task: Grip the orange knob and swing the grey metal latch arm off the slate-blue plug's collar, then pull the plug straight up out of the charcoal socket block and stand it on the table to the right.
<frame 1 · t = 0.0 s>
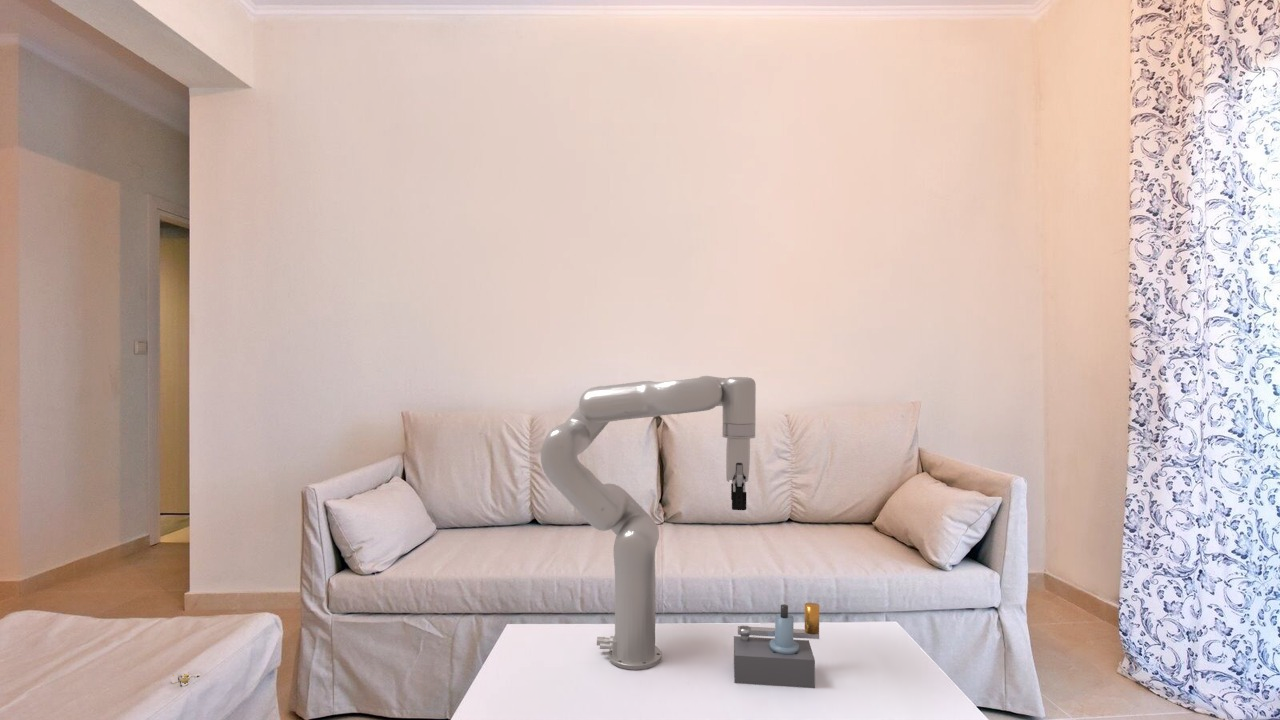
hand: (738, 504, 152), 37 cm above the table, tool pointing down, fingers open, 9 cm apart
socket block: (772, 674, 147), on the table
plug: (784, 666, 147), point 2 cm above the table, touching socket block
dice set: (183, 683, 144), on the table
latch: (778, 619, 151), point 11 cm above the table, hinge at 0.0°
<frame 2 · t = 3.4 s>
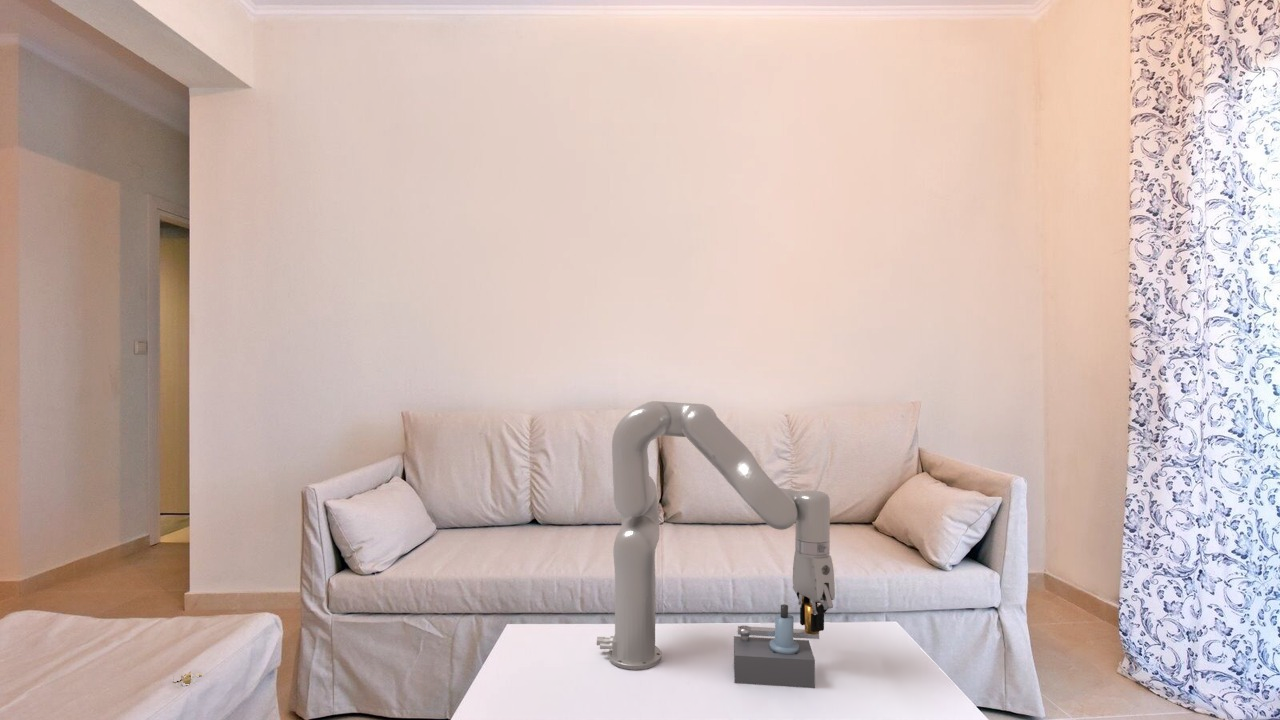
hand: (811, 626, 150), 10 cm above the table, tool pointing down, fingers closed on latch, 3 cm apart
latch: (778, 619, 151), point 11 cm above the table, hinge at 0.0°, touching gripper
everything else where it was.
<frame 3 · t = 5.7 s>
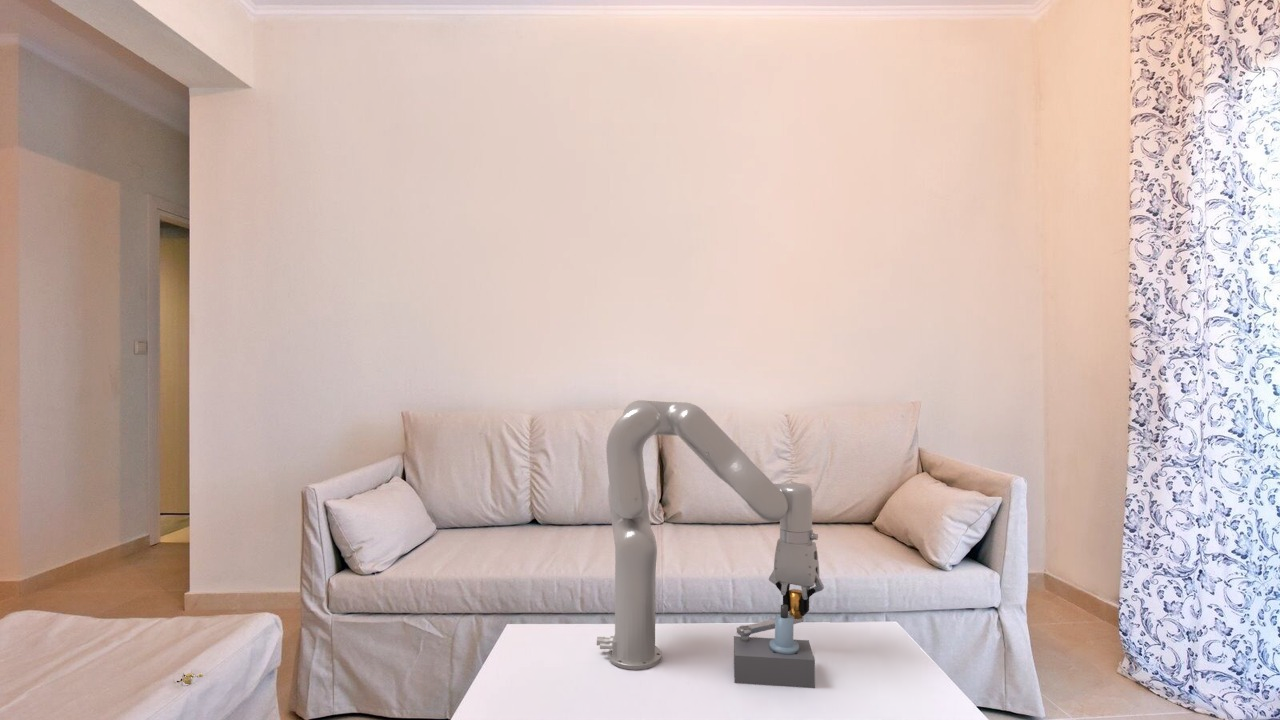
hand: (795, 611, 158), 10 cm above the table, tool pointing down, fingers closed on latch, 3 cm apart
latch: (771, 611, 155), point 11 cm above the table, hinge at 34.4°, touching gripper
everything else where it was.
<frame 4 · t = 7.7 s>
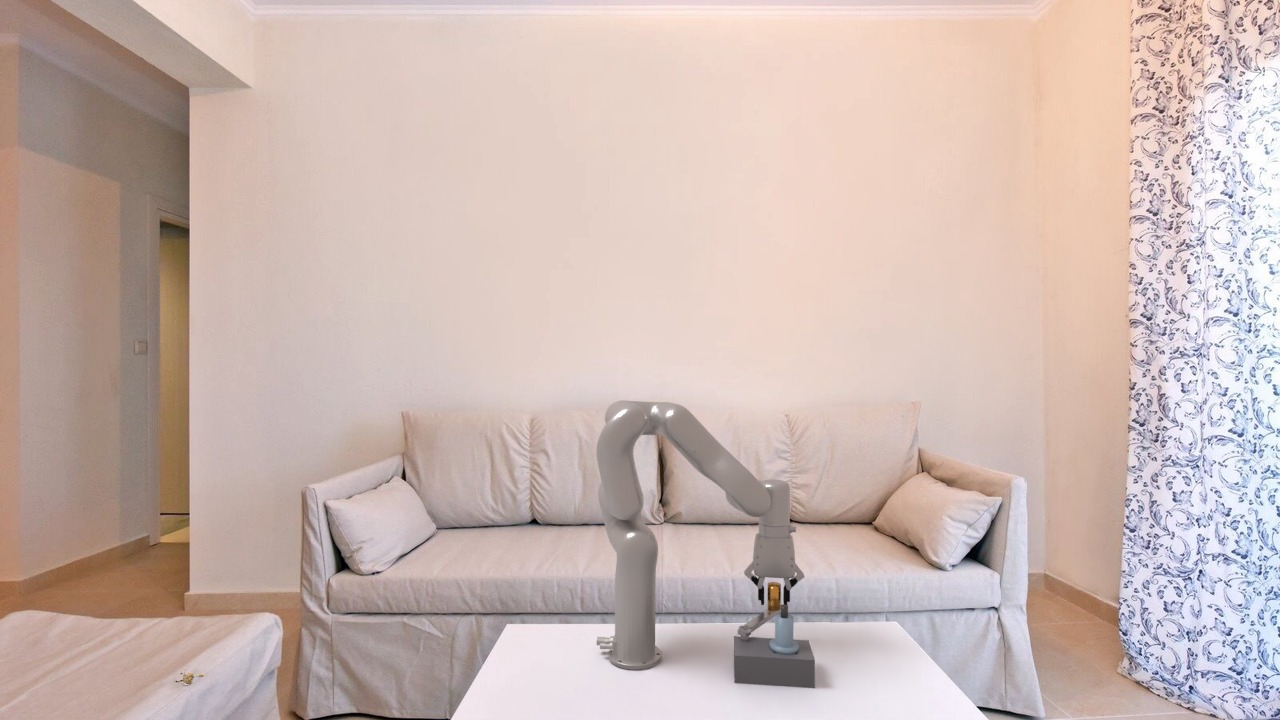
hand: (773, 603, 163), 10 cm above the table, tool pointing down, fingers open, 5 cm apart
latch: (760, 607, 157), point 11 cm above the table, hinge at 59.7°
everything else where it was.
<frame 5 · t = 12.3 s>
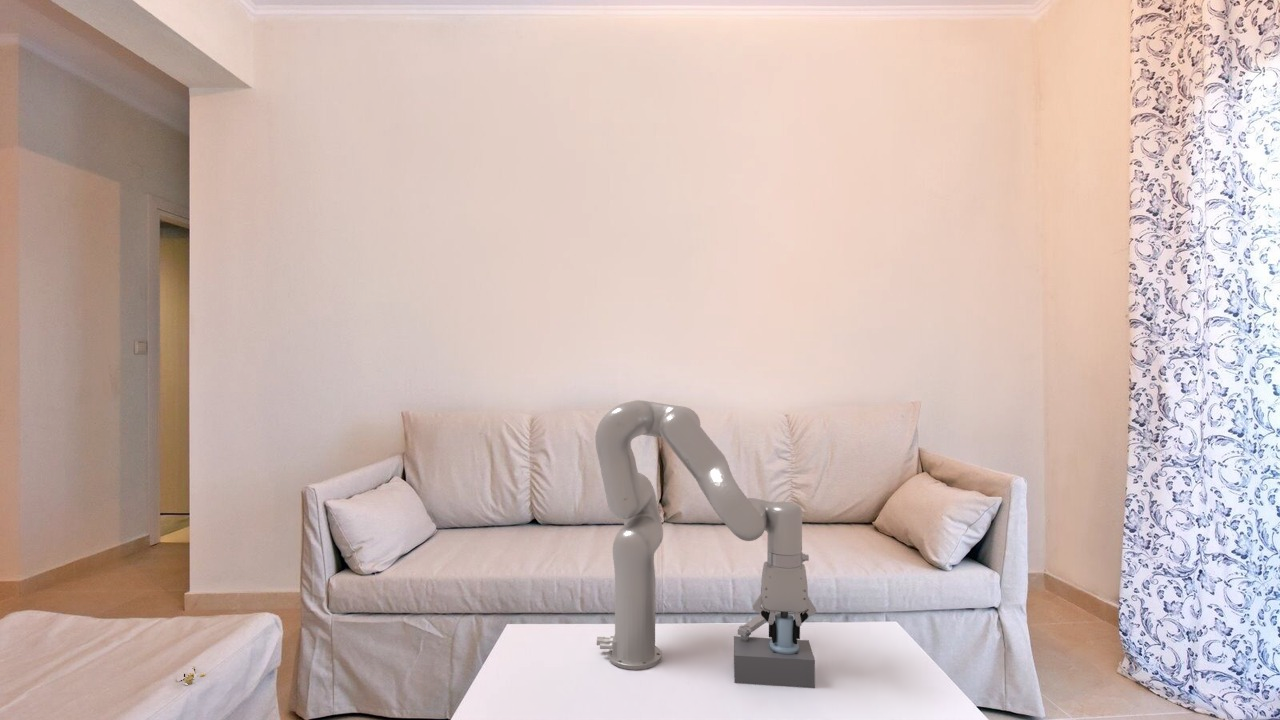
hand: (784, 640, 147), 8 cm above the table, tool pointing down, fingers closed on plug, 4 cm apart
plug: (784, 666, 147), point 2 cm above the table, touching gripper, socket block
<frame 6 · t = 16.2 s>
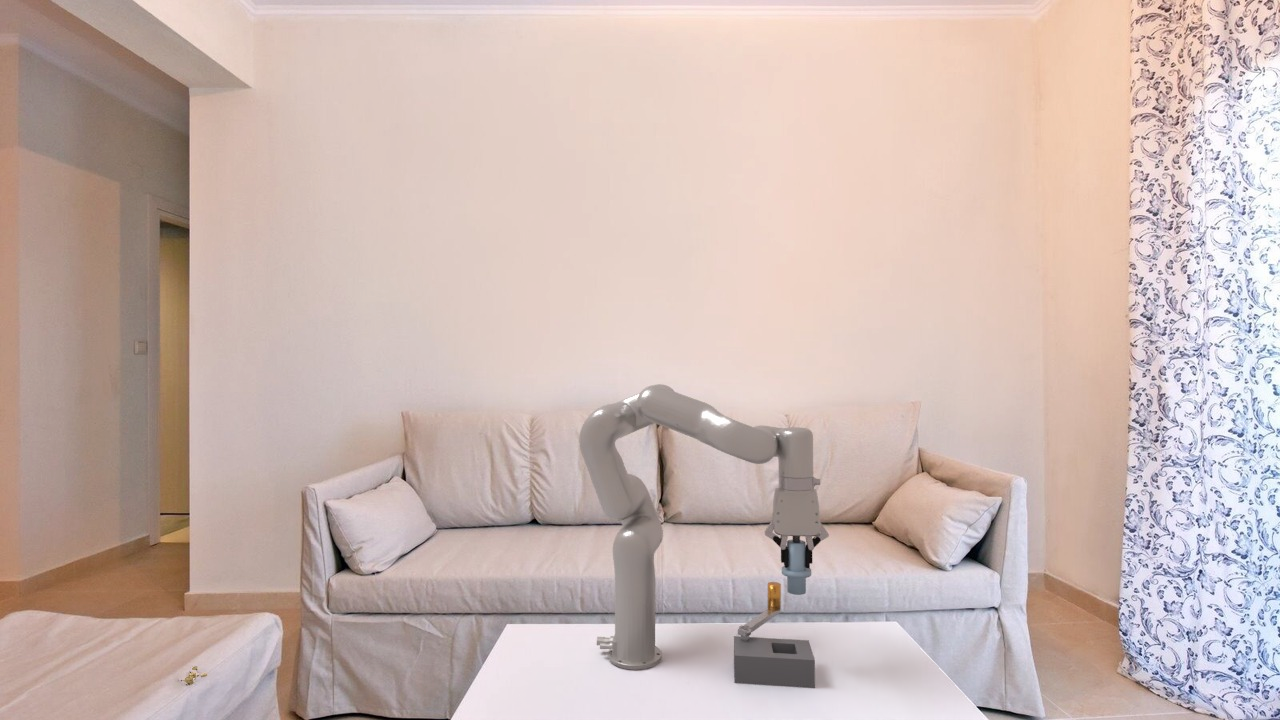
hand: (796, 565, 146), 25 cm above the table, tool pointing down, fingers closed on plug, 4 cm apart
plug: (796, 591, 146), point 19 cm above the table, touching gripper
when the fingers open (7 cm above the table, at t = 20.4 s): plug drops 1 cm, on the table.
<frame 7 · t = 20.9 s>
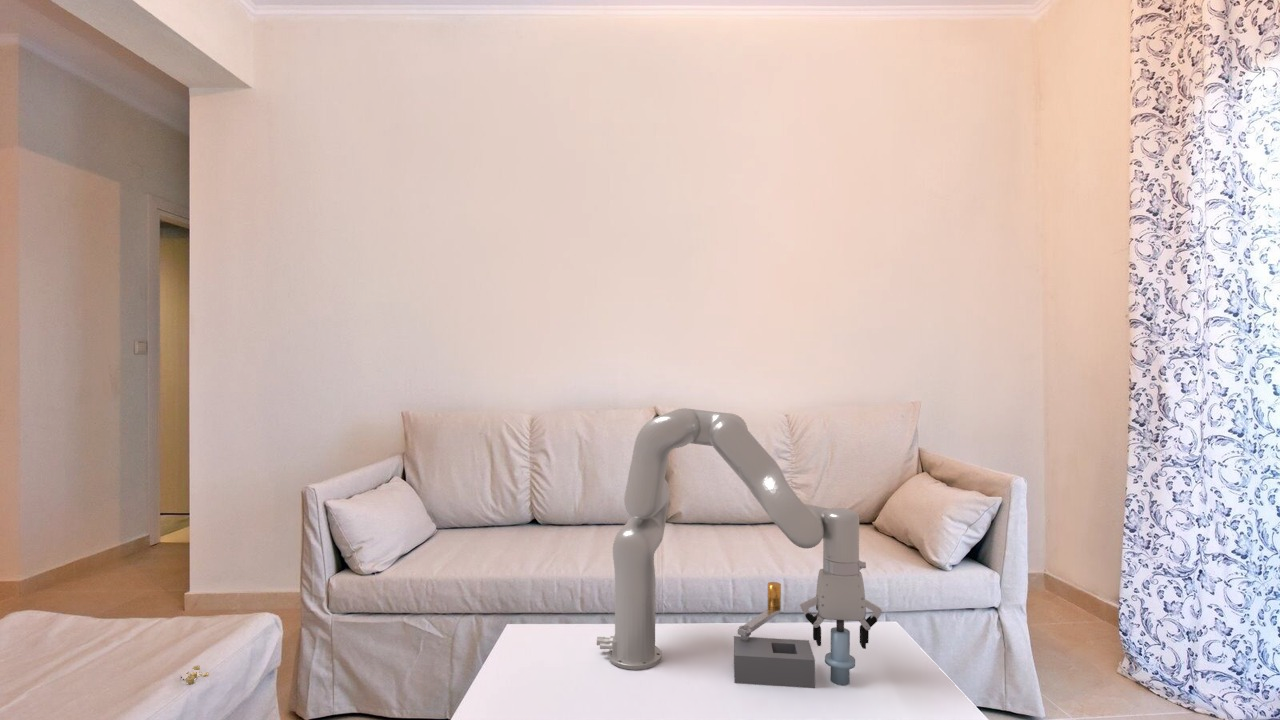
hand: (840, 644, 144), 8 cm above the table, tool pointing down, fingers open, 9 cm apart
plug: (839, 680, 144), on the table
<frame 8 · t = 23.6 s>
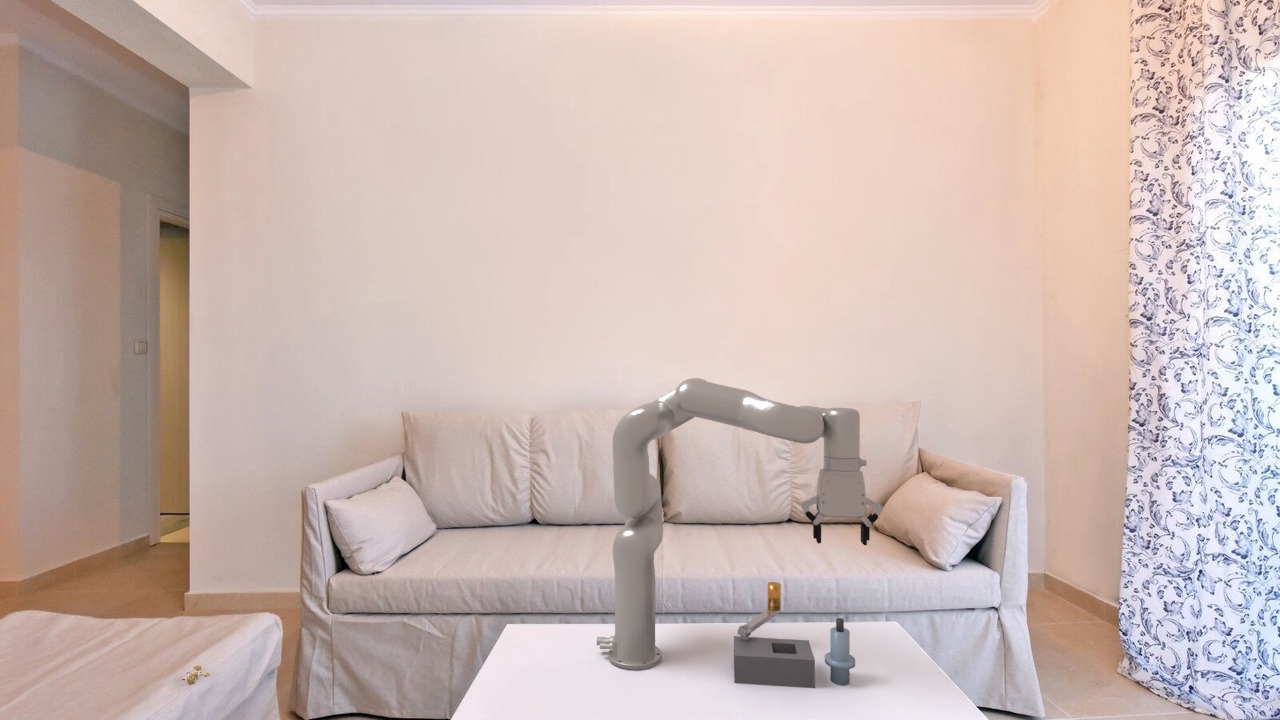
hand: (841, 542, 144), 30 cm above the table, tool pointing down, fingers open, 9 cm apart
at the end: latch at +60° (first picture: +0°); plug inside the target area (0.1 cm from its centre), on the table; plug tilted 0° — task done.
